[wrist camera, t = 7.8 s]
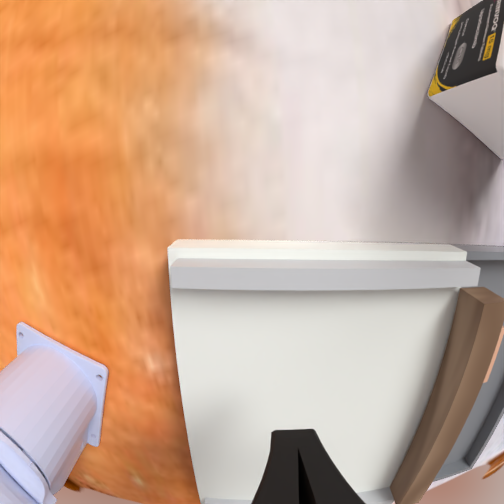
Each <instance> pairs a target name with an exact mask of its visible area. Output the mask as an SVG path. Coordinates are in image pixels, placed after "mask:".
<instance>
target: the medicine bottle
mask: <svg viewBox="0 0 504 504" xmlns="http://www.w3.org/2000/svg"><path fill="white" fill-rule="evenodd" d="M427 95H428V97H429V98H430V99H431V100H432V101H433V102H435V103H436V104H437V105H439V106H440V107H441V108H443V109H444V110H445V111H446V112H448V113H449V114H450V115H451V116H453V117H454V118H455V119H456V120H458V121H459V122H460V123H461V124H462V125H464V126H465V127H466V128H467V129H468V130H469V131H471V132H472V133H473V134H474V135H475V136H476V137H477V138H479V139H480V140H481V141H482V142H483V143H484V144H485V145H486V146H487V147H488V148H489V149H491V150H492V151H493V152H494V153H495V154H496V155H497V156H498V157H499V158H500V159H502V160H504V0H483V1H481V2H479V3H478V4H476V5H475V6H473V7H472V8H470V9H469V10H467V11H466V12H464V13H463V14H461V15H460V16H459V17H457V18H456V19H454V20H453V21H452V24H451V27H450V30H449V33H448V36H447V39H446V42H445V45H444V48H443V51H442V54H441V57H440V60H439V63H438V66H437V68H436V71H435V74H434V77H433V79H432V82H431V85H430V87H429V90H428V94H427Z"/></svg>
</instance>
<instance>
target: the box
mask: <svg viewBox="0 0 504 504" xmlns="http://www.w3.org/2000/svg"><path fill="white" fill-rule="evenodd" d="M450 245H452V246H455V247H457V248H459V249H462V250H464V251H466V252H467V257H466V261H468V262H470V263H472V264H474V265H476V266H478V267H480V268H481V269H480V275H479V280H478V286H471V287H485V288H487V289H489V290H490V291H492V292H494V293H495V294H497V295H499V296H500V297H502V298H504V246H485V245H454V244H450ZM471 287H461V288H471ZM503 326H504V322H503ZM503 414H504V335H503V338H502V341H501V344H500V347H499V350H498V353H497V356H496V359H495V362H494V365H493V367H492V370H491V373H490V375H489V378H488V380H487V382H485V383H483V384H482V387H481V389H480V391H479V394H478V396H477V399H476V401H475V403H474V405H473V408H472V410H471V412H470V414H469V417H468V419H467V421H466V423H465V425H464V427H463V429H462V431H461V433H460V435H459V437H458V439H457V441H456V442H455V444H454V446H453V448H452V450H451V451H450V453H449V455H448V457H447V458H446V460H445V462H444V464H443V465H442V467H441V469H440V470H439V472H438V474H437V475H436V477H435V478H434V480H433V482H434V481H437V480H440V479H444V478H447V477H450V476H453V475H456V474H459V473H461V472H464V471H467V470H470V469H472V467H473V466H474V464H475V463H476V461H477V459H478V458H479V456H480V455H481V453H482V451H483V450H484V448H485V446H486V445H487V443H488V441H489V440H490V438H491V436H492V434H493V432H494V431H495V429H496V427H497V425H498V423H499V421H500V419H501V418H502V416H503Z"/></svg>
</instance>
